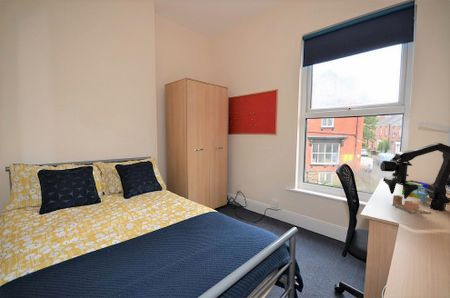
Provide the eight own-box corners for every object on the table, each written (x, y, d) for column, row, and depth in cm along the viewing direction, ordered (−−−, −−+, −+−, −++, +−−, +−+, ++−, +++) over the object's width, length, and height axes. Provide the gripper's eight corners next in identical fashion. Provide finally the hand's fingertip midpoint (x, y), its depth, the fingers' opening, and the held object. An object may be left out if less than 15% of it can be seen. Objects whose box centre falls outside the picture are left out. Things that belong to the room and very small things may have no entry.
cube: (410, 207, 123) (411, 200, 123) (417, 210, 119) (418, 203, 118) (403, 207, 123) (404, 200, 122) (410, 210, 119) (411, 203, 118)
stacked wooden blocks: (398, 204, 131) (399, 195, 130) (419, 213, 118) (421, 203, 117) (391, 204, 131) (392, 195, 130) (412, 213, 118) (413, 203, 117)
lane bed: (399, 201, 138) (399, 199, 138) (431, 214, 118) (431, 211, 118) (381, 202, 137) (381, 199, 137) (410, 215, 118) (410, 212, 117)
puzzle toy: (426, 197, 148) (428, 183, 147) (418, 198, 145) (420, 185, 144) (409, 192, 158) (411, 180, 156) (402, 194, 154) (403, 181, 153)
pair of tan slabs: (411, 205, 129) (411, 204, 129) (429, 213, 118) (429, 211, 118) (404, 205, 129) (404, 204, 129) (421, 213, 118) (422, 211, 118)
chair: (429, 205, 133) (431, 187, 132) (414, 204, 135) (416, 186, 133) (420, 201, 141) (422, 184, 139) (406, 199, 142) (408, 183, 141)
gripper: (376, 169, 136) (374, 191, 138) (402, 175, 118) (399, 201, 119) (392, 168, 137) (390, 191, 139) (420, 175, 118) (417, 201, 120)
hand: (398, 196), depth 129 cm, fingers open, 9 cm apart
